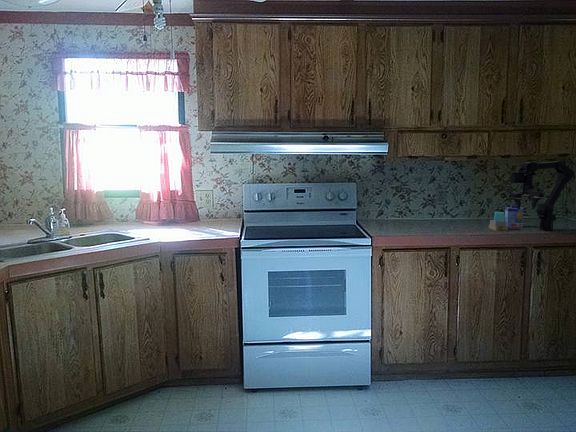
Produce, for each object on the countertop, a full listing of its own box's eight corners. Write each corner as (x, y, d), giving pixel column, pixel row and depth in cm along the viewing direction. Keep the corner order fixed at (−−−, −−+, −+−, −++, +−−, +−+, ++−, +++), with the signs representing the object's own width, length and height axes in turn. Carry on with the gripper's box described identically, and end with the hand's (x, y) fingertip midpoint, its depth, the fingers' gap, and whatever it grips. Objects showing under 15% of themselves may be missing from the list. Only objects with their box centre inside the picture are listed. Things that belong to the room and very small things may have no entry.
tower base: (500, 228, 308) (500, 224, 308) (508, 231, 301) (508, 226, 300) (488, 229, 307) (488, 224, 307) (495, 231, 299) (496, 226, 299)
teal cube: (494, 219, 306) (494, 211, 306) (503, 220, 305) (503, 212, 304) (494, 221, 302) (495, 212, 301) (503, 221, 300) (504, 213, 299)
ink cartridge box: (507, 227, 310) (508, 204, 308) (503, 225, 315) (504, 203, 313) (523, 227, 309) (524, 204, 307) (519, 225, 314) (521, 203, 312)
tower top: (500, 224, 307) (500, 219, 307) (506, 226, 300) (506, 221, 300) (489, 224, 307) (490, 219, 306) (495, 226, 300) (495, 221, 299)
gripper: (521, 184, 284) (519, 211, 286) (551, 183, 286) (549, 210, 289) (510, 183, 295) (508, 209, 297) (538, 182, 297) (537, 208, 300)
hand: (526, 209), depth 295 cm, fingers open, 9 cm apart
